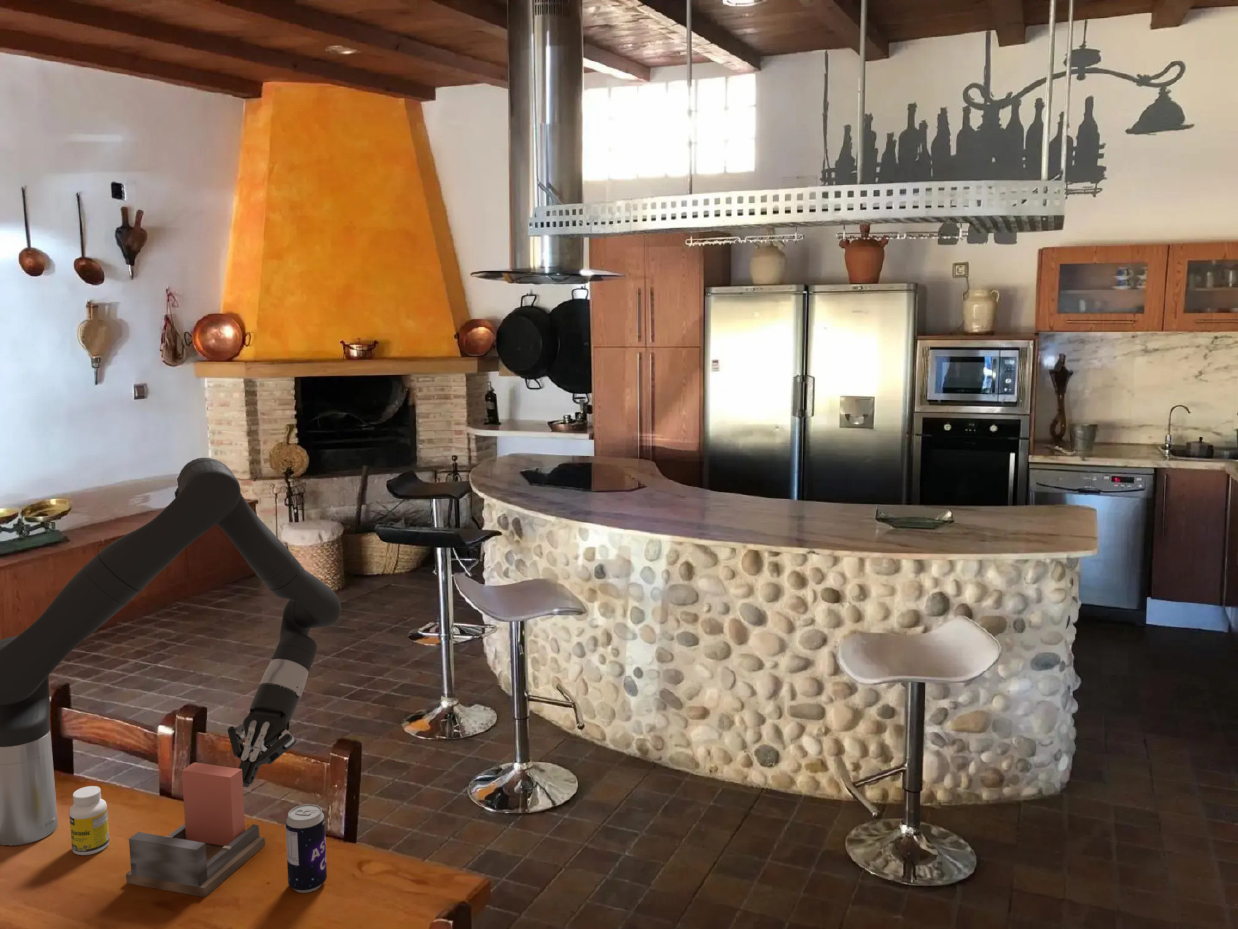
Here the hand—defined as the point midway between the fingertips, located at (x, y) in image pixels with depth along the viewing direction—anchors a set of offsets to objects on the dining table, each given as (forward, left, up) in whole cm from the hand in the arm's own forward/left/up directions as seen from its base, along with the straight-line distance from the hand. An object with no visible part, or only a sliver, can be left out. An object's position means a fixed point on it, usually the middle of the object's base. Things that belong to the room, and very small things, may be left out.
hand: (241, 785), depth 165 cm
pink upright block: (0, -7, -6) cm, 9 cm away
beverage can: (+20, -12, -8) cm, 25 cm away
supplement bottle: (-20, -12, -8) cm, 25 cm away
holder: (0, -12, -8) cm, 14 cm away
